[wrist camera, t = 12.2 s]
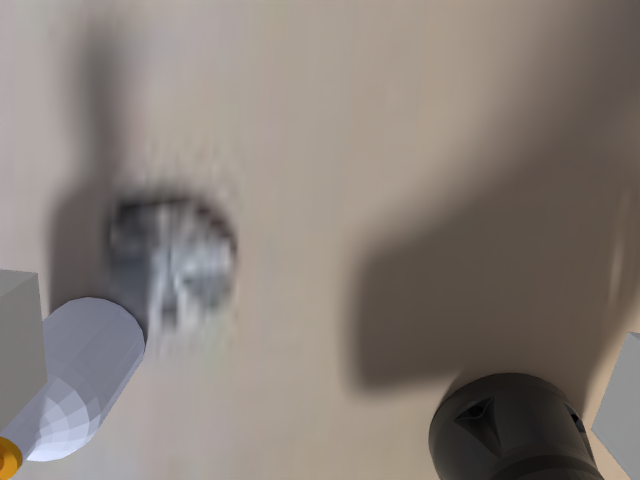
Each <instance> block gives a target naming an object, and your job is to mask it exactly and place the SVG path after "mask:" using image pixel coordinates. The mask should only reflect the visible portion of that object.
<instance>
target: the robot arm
mask: <svg viewBox="0 0 640 480" xmlns="http://www.w3.org/2000/svg"><path fill="white" fill-rule="evenodd" d="M47 382H48V381H47V370H46V359H45V348H44V337H43V326H42V315H41V305H40V294H39V283H38V273H32V272H22V271H12V270H2V269H0V433H1V432H2V431H3V430H4V429H5V428H6V427H7V426H8V424H9V423H10V422H11V421H12V420H13V419H14V418H15V417H16V416H17V415H18V414H19V412H20V411H21V410H22V409H23V408H24V407H25V406H26V405H27V404H28V403H29V401H30V400H31V399H32V398H33V397H34V396H35V395H36V394H37V393H38V392H39V391H40V389H41V388H42V387H43V386H44V385H45V384H46V383H47ZM591 431H592V432H593V433H594V434H595V436H596V437H597V438H598V439H599V440H600V442H601V443H602V444H603V445H604V447H605V448H606V449H607V450H608V452H609V453H610V454H611V455H612V456H613V458H614V459H615V460H616V461H617V463H618V464H619V465H620V466H621V468H622V469H623V470H624V471H625V472H626V474H627V475H628V476H629V477H630V479H631V480H640V333H634V332H628V333H627V336H626V338H625V341H624V344H623V346H622V349H621V352H620V354H619V357H618V360H617V362H616V365H615V367H614V370H613V373H612V375H611V378H610V381H609V383H608V386H607V388H606V391H605V394H604V396H603V399H602V402H601V404H600V407H599V409H598V412H597V415H596V417H595V420H594V423H593V425H592V428H591ZM429 450H430V454H431V457H432V460H433V463H434V466H435V469H436V472H437V474H438V476H439V478H440V480H604V478H603V477H602V475H601V474H600V473H599V471H598V469H597V466H596V463H595V459H594V456H593V453H592V450H591V447H590V444H589V440H588V437H587V435H586V431H585V428H584V425H583V422H582V420H581V418H580V416H579V415H578V413H577V411H576V410H575V408H574V407H573V406H572V405H571V403H570V402H569V401H568V400H567V399H566V397H565V396H564V395H563V394H562V393H561V392H560V391H559V390H558V389H557V388H556V387H554V386H553V385H551V384H550V383H548V382H546V381H544V380H542V379H539V378H536V377H533V376H529V375H523V374H500V375H494V376H489V377H486V378H482V379H479V380H477V381H474V382H472V383H470V384H468V385H466V386H465V387H463V388H461V389H460V390H458V391H457V392H456V393H454V394H453V395H452V396H451V397H450V398H449V399H447V400H446V402H445V403H444V404H443V405H442V406H441V407H440V409H439V410H438V412H437V413H436V415H435V417H434V419H433V421H432V424H431V427H430V431H429Z"/></svg>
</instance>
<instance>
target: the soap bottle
mask: <svg viewBox="0 0 640 480" xmlns="http://www.w3.org/2000/svg"><path fill="white" fill-rule="evenodd" d="M42 326H43V337H44V348H45V359H46V370H47V381H48V382H47V383H46V384H45V385H44V386H43V387H42V388H41V389H40V391H39V392H38V393H37V394H36V395H35V396H34V397H33V398H32V399H31V400H30V401H29V403H28V404H27V405H26V406H25V407H24V408H23V409H22V410H21V411H20V412H19V414H18V415H17V416H16V417H15V418H14V419H13V420H12V421H11V422H10V423H9V424H8V426H7V427H6V428H5V429H4V430H3V431H2V432H1V433H0V480H8V479H9V478H11V477H12V476H14V474H15V473H16V472H17V471H18V469H19V468H20V467H21V466H22V464H23V463H24V462H25V460H32V461H49V460H55V459H60V458H64V457H65V456H67V455H69V454H71V453H72V452H74V451H76V450H78V449H79V448H81V447H82V446H84V445H85V444H87V443H88V442H89V440H90V439H91V438H92V436H93V435H94V434H95V432H96V431H97V430H98V428H99V427H100V425H101V424H102V422H103V420H104V419H105V417H106V416H107V414H108V413H109V411H110V410H111V408H112V406H113V405H114V403H115V402H116V400H117V399H118V397H119V395H120V394H121V392H122V391H123V389H124V388H125V386H126V385H127V383H128V381H129V380H130V378H131V377H132V375H133V374H134V372H135V370H136V369H137V367H138V366H139V364H140V363H141V361H142V358H143V353H144V349H145V343H144V338H143V332H142V330H141V328H140V326H139V325H138V323H137V321H136V320H135V318H134V317H133V316H132V315H131V314H130V313H129V312H127V311H126V310H125V309H124V308H123V307H122V306H120V305H117V304H115V303H113V302H111V301H108V300H106V299H100V298H91V297H85V298H80V299H75V300H71V301H68V302H67V303H65V304H64V305H62V306H61V307H59V308H57V309H56V310H55V311H54V312H53V313H51V314H50V315H49V316H48V317H47V318H45V319H44V320H43V321H42Z"/></svg>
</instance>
